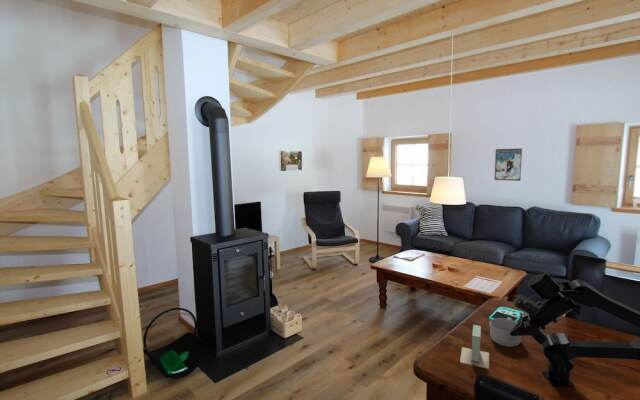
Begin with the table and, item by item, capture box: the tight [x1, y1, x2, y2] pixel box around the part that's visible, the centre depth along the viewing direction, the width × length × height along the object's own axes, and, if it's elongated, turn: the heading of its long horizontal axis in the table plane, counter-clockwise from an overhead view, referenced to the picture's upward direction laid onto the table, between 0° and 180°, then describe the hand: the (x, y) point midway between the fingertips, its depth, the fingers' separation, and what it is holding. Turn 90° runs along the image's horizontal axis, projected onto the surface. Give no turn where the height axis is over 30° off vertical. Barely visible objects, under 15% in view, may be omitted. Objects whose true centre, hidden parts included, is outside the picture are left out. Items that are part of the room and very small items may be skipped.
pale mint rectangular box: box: [471, 324, 482, 364], centre depth 120 cm, size 3×8×10 cm, turn 154°
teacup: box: [488, 317, 522, 348], centre depth 132 cm, size 14×11×8 cm
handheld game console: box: [488, 306, 525, 322], centre depth 153 cm, size 10×16×1 cm, turn 135°
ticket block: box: [459, 346, 490, 370], centre depth 121 cm, size 9×10×2 cm
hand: (510, 334), depth 115 cm, fingers closed
